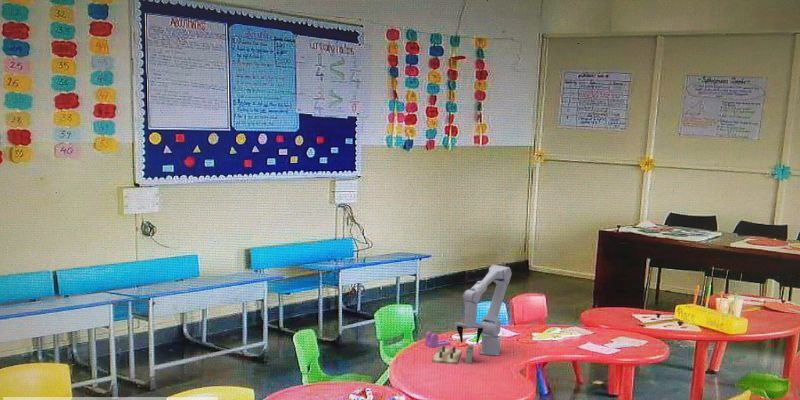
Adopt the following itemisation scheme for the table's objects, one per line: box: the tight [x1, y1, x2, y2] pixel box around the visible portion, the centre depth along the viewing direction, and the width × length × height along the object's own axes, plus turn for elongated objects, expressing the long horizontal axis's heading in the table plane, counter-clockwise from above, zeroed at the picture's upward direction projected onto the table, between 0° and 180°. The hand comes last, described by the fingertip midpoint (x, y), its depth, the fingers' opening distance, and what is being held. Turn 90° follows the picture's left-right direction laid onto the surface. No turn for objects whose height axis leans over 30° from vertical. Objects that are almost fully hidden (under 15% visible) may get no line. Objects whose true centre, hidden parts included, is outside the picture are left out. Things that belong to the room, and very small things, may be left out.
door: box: [465, 344, 474, 364], centre depth 354 cm, size 2×10×6 cm, turn 169°
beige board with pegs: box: [431, 345, 463, 365], centre depth 358 cm, size 12×20×4 cm, turn 168°
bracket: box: [425, 331, 451, 349], centre depth 378 cm, size 13×6×7 cm, turn 123°
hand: (469, 342), depth 353 cm, fingers open, 7 cm apart
